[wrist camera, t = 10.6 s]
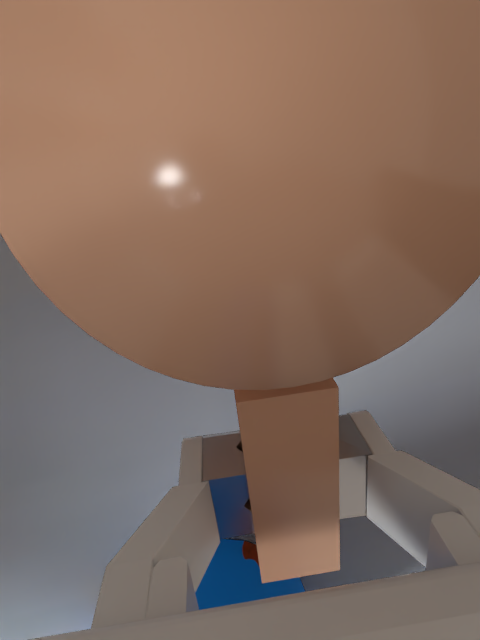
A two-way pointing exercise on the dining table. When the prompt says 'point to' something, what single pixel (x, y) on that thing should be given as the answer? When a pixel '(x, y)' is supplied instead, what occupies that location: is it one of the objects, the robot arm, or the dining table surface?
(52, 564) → the dining table surface
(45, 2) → the tan rounded piece
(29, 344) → the dining table surface
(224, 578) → the thermos
